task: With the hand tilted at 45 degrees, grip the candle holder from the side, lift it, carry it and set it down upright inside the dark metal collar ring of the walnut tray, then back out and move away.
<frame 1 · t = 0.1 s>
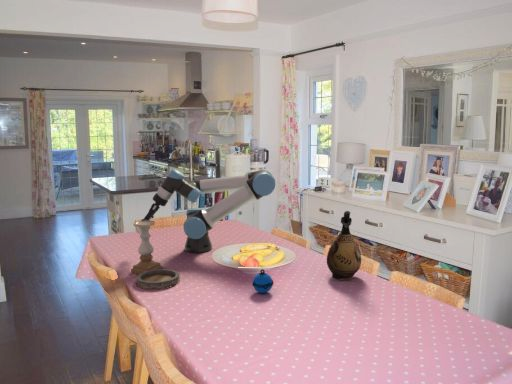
hand: (140, 229, 245), 15 cm above the table, tool tilted 35°, fingers open, 13 cm apart
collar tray: (158, 281, 210), on the table
ceramic jug: (343, 276, 214), on the table
candle holder: (147, 271, 226), on the table
ornament: (262, 293, 195), on the table
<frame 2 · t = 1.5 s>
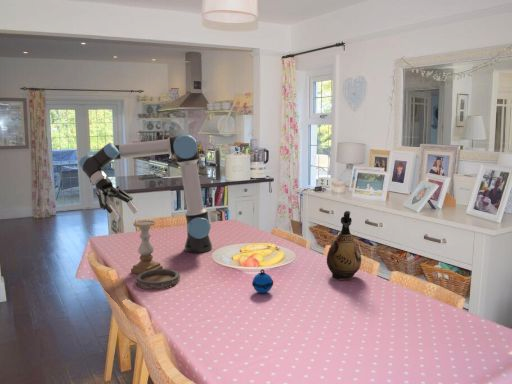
hand: (126, 214, 226), 27 cm above the table, tool tilted 45°, fingers open, 13 cm apart
nothing on the table moved.
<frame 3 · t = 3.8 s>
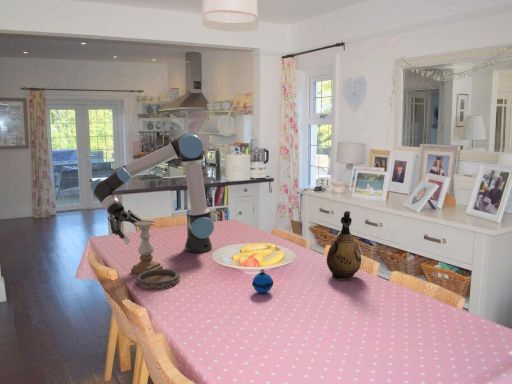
hand: (138, 239, 224), 16 cm above the table, tool tilted 45°, fingers open, 13 cm apart
nothing on the table moved.
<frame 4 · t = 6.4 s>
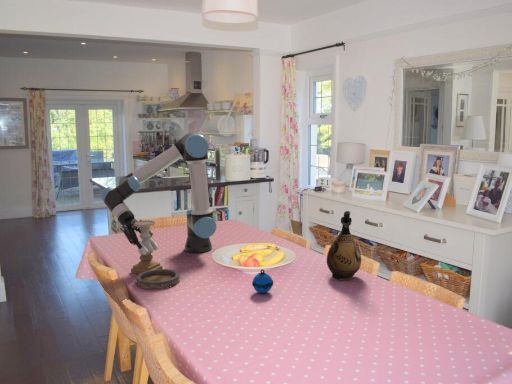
hand: (151, 250, 222), 11 cm above the table, tool tilted 45°, fingers closed on candle holder, 7 cm apart
candle holder: (146, 271, 226), on the table, touching gripper
everything else where it was.
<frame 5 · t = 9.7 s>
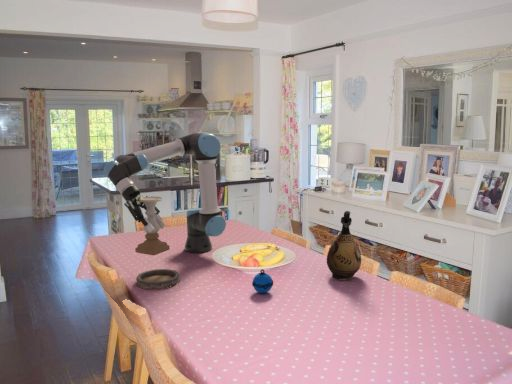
hand: (157, 228, 206), 24 cm above the table, tool tilted 45°, fingers closed on candle holder, 7 cm apart
candle holder: (152, 251, 210), point 14 cm above the table, touching gripper
everything else where it was.
when the fingers open (13 cm above the table, at t = 13.5 s): candle holder drops 1 cm, resting on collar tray.
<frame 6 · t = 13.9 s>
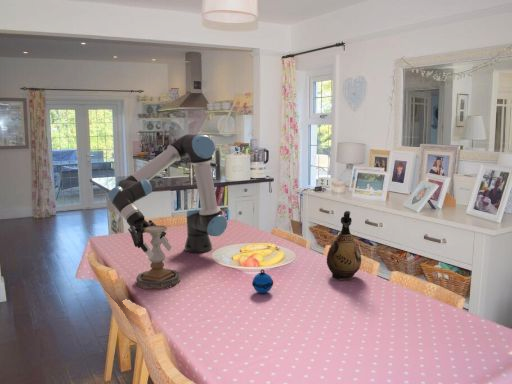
hand: (161, 252, 207), 14 cm above the table, tool tilted 45°, fingers open, 12 cm apart
candle holder: (158, 280, 210), point 1 cm above the table, touching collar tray
everything else where it was.
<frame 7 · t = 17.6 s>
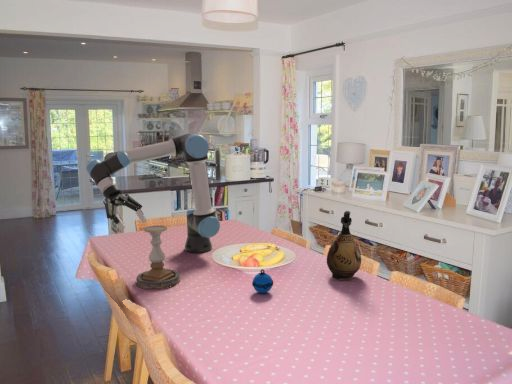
hand: (134, 225, 214), 25 cm above the table, tool tilted 40°, fingers open, 13 cm apart
nothing on the table moved.
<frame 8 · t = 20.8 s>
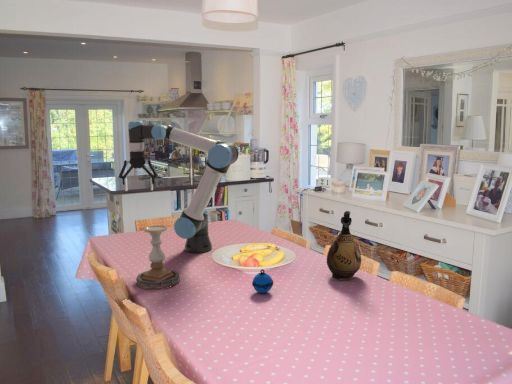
hand: (139, 190, 250), 35 cm above the table, tool pointing down, fingers open, 13 cm apart
nothing on the table moved.
at the end: candle holder 0.1 cm off-centre on the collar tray, point 0.8 cm above the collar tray's base; candle holder tilted 0°; the gripper is holding nothing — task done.
